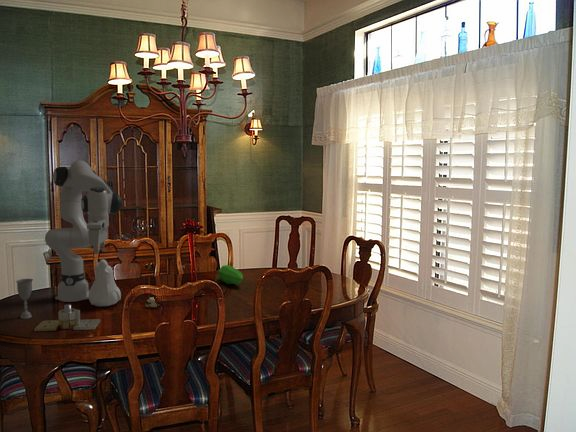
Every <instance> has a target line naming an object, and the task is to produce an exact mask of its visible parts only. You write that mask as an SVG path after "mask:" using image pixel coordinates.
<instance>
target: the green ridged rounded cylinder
mask: <svg viewBox="0 0 576 432" xmlns="http://www.w3.org/2000/svg"><path fill="white" fill-rule="evenodd" d="M243 278H244V277H243V273H242V272H241V271H240V270H238V269H236V268H235V267H234V266H232V265H229V264H225V265H222V266H221V268H220V269H218V279H219V280H220V281H222V282H224V284H227V285H239V284H241V282H243Z"/></svg>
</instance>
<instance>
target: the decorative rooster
mask: <svg viewBox="0 0 576 432" xmlns="http://www.w3.org/2000/svg"><path fill="white" fill-rule="evenodd" d="M94 277H95V279H94V281H93V283H92V285H91V287H89V299H88V300H89V302H90V304H91V305H92V306H95V307H109V306H112V305H115V304H117V302H119V301H121V299H122V298H121V296H122V292H121V290H120V288H119V287H118V286H117V284H116V281H115V278H114V271H113V268H112V267H111V266H110V265H109V264H108V262H107V260H106V259H100V260H99V261H98V262H95V265H94Z"/></svg>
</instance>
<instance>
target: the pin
mask: <svg viewBox="0 0 576 432" xmlns="http://www.w3.org/2000/svg"><path fill="white" fill-rule="evenodd" d="M71 308H72V304H71V303H68V304H64V305H63V309H64V313H65V312H72V311H71Z"/></svg>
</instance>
